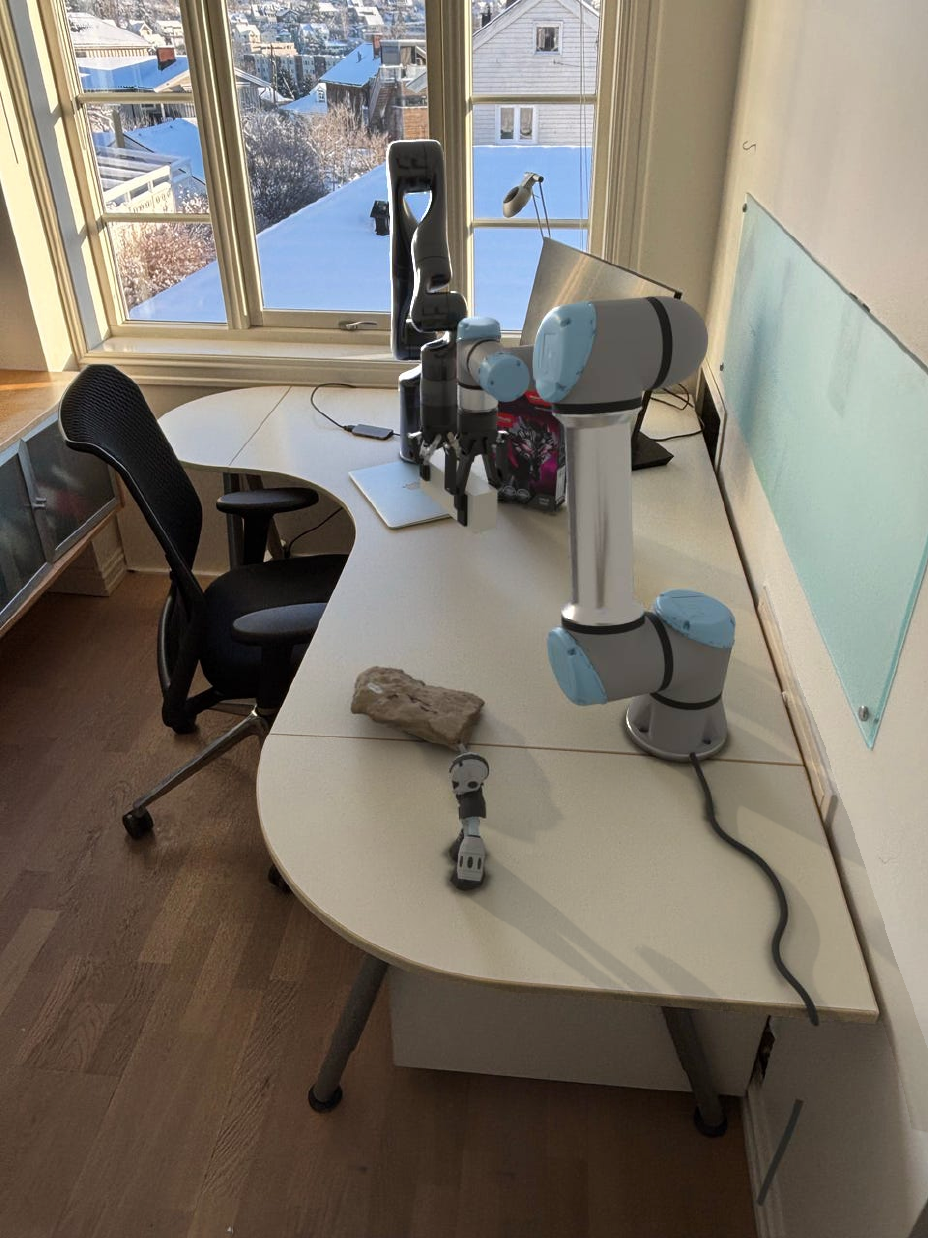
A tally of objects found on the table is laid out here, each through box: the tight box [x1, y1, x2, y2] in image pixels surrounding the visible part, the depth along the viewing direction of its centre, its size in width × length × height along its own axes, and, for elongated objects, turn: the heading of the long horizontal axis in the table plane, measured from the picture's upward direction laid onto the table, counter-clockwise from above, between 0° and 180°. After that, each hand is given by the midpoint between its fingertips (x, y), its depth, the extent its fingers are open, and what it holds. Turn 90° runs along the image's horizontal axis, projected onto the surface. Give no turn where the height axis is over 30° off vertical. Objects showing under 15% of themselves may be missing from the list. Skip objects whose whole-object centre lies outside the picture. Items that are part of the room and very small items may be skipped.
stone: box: [349, 665, 486, 752], centre depth 143 cm, size 21×15×6 cm
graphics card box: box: [487, 390, 567, 513], centre depth 201 cm, size 17×7×27 cm, turn 62°
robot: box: [448, 739, 490, 891], centre depth 115 cm, size 20×5×20 cm, turn 3°
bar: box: [419, 448, 498, 535], centre depth 184 cm, size 22×5×8 cm, turn 30°
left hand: (439, 476), depth 189 cm, fingers open, 6 cm apart
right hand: (475, 519), depth 180 cm, fingers closed on bar, 5 cm apart
